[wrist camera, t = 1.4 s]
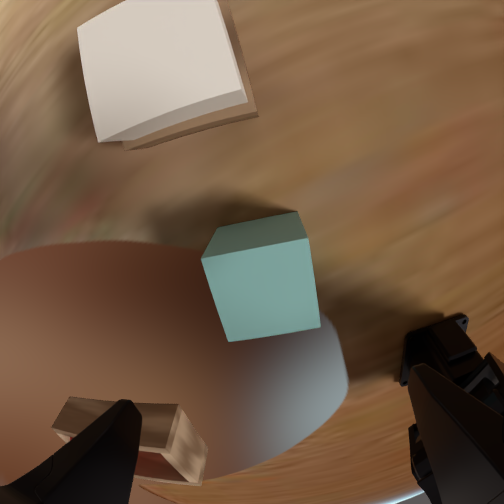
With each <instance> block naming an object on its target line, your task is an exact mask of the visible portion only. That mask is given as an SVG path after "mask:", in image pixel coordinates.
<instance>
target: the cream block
mask: <svg viewBox="0 0 504 504" xmlns="http://www.w3.org/2000/svg"><path fill="white" fill-rule="evenodd" d="M77 32H78V40H79V48H80V55H81V62H82V68H83V74H84V80H85V85H86V91H87V96H88V101H89V105H90V110H91V115H92V119H93V123H94V127H95V132H96V136H97V140H98V142H110V141H125V140H135V139H138V138H140V137H143V136H145V135H148V134H150V133H153V132H155V131H158V130H161V129H163V128H166V127H169V126H172V125H174V124H177V123H180V122H183V121H186V120H189V119H192V118H195V117H198V116H201V115H204V114H208V113H211V112H214V111H218V110H221V109H224V108H228V107H232V106H235V105H239V104H243V103H247V102H248V100H247V97H246V93H245V90H244V86H243V83H242V79H241V76H240V72H239V69H238V66H237V62H236V59H235V56H234V52H233V49H232V46H231V42H230V39H229V36H228V33H227V29H226V26H225V23H224V20H223V17H222V14H221V10H220V7H219V4H218V1H217V0H126V1H124V2H122V3H120V4H118V5H116V6H114V7H112V8H110V9H108V10H107V11H105V12H103V13H101V14H99V15H98V16H96V17H94V18H92V19H91V20H89V21H87V22H86V23H84V24H83V25H81V26H79V27H78V28H77Z"/></svg>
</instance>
